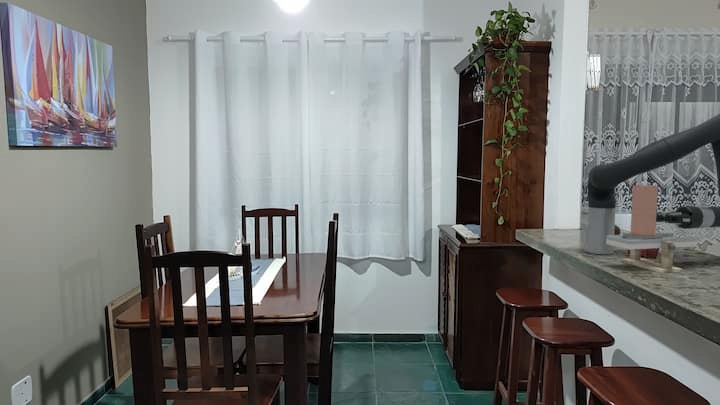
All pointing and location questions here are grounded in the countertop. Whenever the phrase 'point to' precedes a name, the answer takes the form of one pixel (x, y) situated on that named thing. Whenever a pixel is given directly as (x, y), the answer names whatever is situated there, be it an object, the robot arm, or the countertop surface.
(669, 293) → the countertop surface
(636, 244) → the beam
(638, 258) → the pivot stand
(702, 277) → the countertop surface
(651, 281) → the countertop surface
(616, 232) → the potato
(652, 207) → the block
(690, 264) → the countertop surface
